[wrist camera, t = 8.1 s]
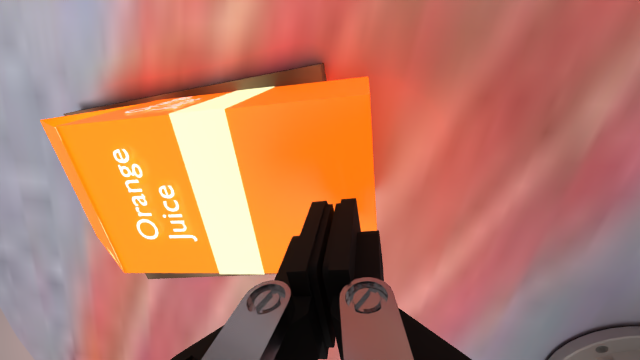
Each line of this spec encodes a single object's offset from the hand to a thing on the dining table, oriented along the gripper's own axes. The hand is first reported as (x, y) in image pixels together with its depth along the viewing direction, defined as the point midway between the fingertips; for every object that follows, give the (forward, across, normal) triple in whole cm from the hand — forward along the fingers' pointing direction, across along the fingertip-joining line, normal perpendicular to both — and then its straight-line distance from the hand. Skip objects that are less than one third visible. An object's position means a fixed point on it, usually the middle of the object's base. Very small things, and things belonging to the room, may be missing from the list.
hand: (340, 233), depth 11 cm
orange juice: (+6, -2, 0) cm, 6 cm away
